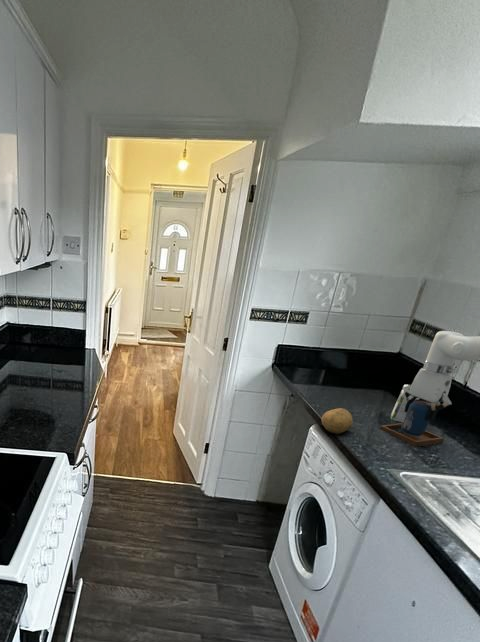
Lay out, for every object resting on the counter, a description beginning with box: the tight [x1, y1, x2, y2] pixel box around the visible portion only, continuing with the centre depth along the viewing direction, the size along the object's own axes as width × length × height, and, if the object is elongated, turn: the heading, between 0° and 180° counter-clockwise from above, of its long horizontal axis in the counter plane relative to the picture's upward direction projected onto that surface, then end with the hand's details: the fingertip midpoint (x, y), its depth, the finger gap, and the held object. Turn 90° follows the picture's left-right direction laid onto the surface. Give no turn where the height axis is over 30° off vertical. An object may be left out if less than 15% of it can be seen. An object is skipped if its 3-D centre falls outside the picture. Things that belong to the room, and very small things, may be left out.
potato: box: [321, 407, 354, 435], centre depth 151 cm, size 10×14×8 cm
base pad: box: [379, 422, 444, 447], centre depth 151 cm, size 14×14×2 cm
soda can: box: [401, 399, 431, 436], centre depth 148 cm, size 7×7×12 cm
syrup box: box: [390, 384, 420, 423], centre depth 162 cm, size 6×6×14 cm
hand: (418, 415), depth 148 cm, fingers closed on soda can, 7 cm apart
